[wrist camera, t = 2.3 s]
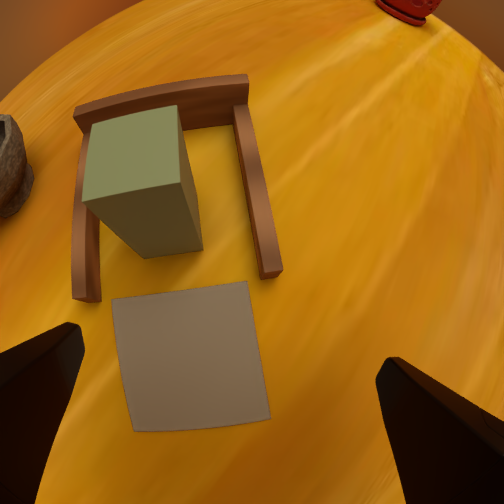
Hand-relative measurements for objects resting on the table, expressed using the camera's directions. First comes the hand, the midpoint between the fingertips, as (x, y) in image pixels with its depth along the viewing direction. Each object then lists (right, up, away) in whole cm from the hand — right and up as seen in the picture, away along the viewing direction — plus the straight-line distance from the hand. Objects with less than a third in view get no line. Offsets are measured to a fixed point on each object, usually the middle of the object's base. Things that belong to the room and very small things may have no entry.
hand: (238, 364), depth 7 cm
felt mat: (-4, -5, +11) cm, 13 cm away
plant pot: (+30, +52, +29) cm, 67 cm away
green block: (-6, +5, +14) cm, 16 cm away
